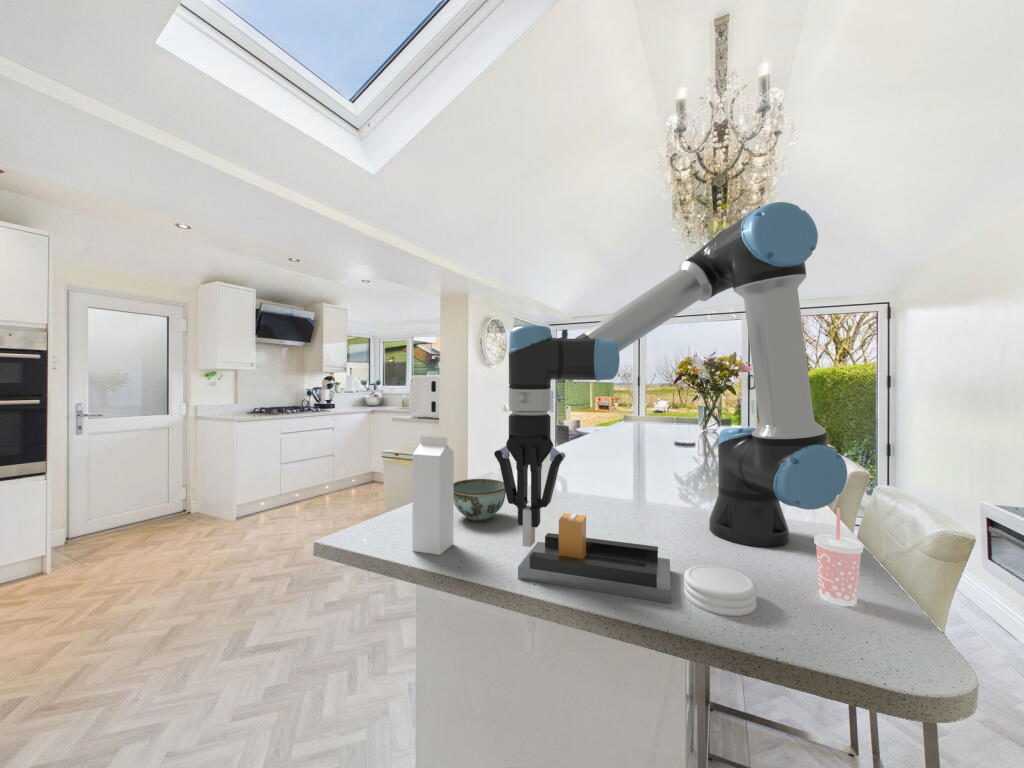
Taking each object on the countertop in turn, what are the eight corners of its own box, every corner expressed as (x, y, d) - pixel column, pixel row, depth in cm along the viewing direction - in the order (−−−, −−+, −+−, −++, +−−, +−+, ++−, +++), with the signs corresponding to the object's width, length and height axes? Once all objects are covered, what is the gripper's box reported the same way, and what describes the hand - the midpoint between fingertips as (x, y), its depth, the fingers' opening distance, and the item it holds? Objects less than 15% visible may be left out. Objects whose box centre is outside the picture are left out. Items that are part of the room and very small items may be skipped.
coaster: (765, 600, 67) (766, 578, 67) (742, 626, 60) (743, 601, 60) (699, 579, 74) (699, 558, 74) (672, 600, 67) (672, 577, 67)
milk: (427, 541, 90) (427, 434, 90) (454, 544, 88) (454, 435, 88) (411, 551, 85) (411, 437, 85) (439, 555, 83) (440, 438, 83)
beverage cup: (808, 586, 71) (809, 500, 71) (855, 594, 68) (856, 504, 68) (818, 604, 65) (819, 511, 65) (869, 613, 63) (870, 516, 63)
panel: (669, 570, 77) (670, 547, 77) (670, 603, 65) (670, 576, 65) (537, 551, 85) (537, 531, 85) (517, 578, 73) (518, 554, 73)
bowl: (483, 506, 115) (483, 476, 115) (518, 518, 105) (518, 485, 105) (439, 517, 105) (439, 484, 105) (473, 532, 96) (473, 495, 95)
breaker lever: (585, 554, 78) (586, 514, 77) (581, 563, 74) (582, 521, 74) (563, 551, 79) (563, 512, 79) (558, 560, 75) (558, 519, 75)
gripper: (487, 413, 77) (487, 546, 78) (560, 415, 73) (559, 556, 73) (502, 410, 84) (502, 532, 85) (569, 412, 80) (569, 541, 80)
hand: (528, 543), depth 79 cm, fingers closed
